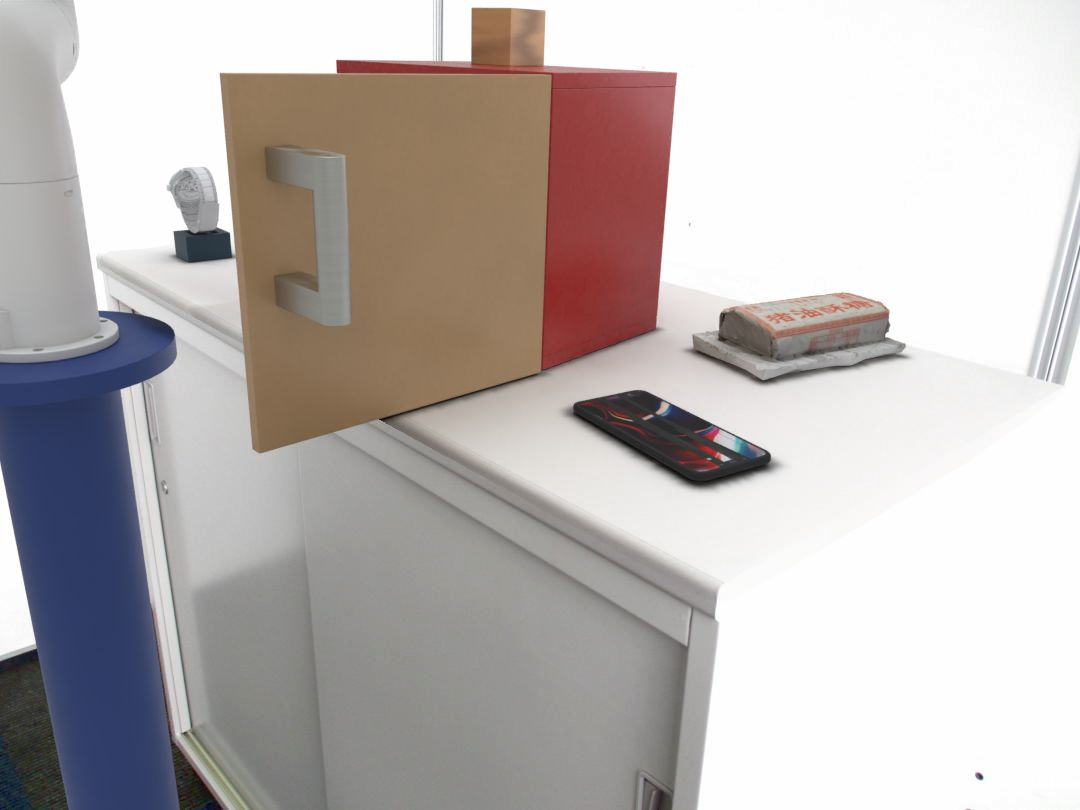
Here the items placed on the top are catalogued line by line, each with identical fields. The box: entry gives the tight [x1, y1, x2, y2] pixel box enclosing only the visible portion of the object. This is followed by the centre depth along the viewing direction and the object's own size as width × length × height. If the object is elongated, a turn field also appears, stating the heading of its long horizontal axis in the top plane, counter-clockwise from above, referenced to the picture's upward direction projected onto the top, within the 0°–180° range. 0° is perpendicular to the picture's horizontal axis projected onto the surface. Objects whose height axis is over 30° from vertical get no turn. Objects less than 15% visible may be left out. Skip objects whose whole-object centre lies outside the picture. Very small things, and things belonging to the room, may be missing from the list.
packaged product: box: [691, 291, 907, 381], centre depth 86 cm, size 18×5×10 cm
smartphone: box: [572, 389, 772, 482], centre depth 67 cm, size 7×1×15 cm
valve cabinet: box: [335, 59, 678, 371], centre depth 90 cm, size 18×26×24 cm
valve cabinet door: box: [219, 72, 551, 454], centre depth 65 cm, size 8×26×24 cm, turn 134°
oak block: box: [470, 7, 546, 66], centre depth 88 cm, size 5×5×5 cm
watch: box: [166, 166, 233, 263], centre depth 115 cm, size 6×8×11 cm
